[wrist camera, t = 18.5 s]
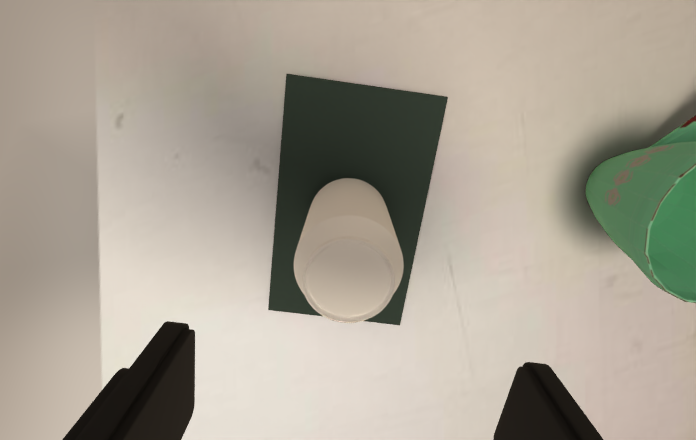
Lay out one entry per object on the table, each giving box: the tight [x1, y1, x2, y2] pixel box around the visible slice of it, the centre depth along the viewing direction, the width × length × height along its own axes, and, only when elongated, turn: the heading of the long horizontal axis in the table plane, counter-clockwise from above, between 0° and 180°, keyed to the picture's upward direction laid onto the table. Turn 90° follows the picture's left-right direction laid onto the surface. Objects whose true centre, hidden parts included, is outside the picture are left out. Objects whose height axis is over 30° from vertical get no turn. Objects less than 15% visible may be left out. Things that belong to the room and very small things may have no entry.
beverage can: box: [294, 178, 404, 323], centre depth 25 cm, size 6×6×12 cm
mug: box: [586, 116, 696, 303], centre depth 25 cm, size 15×10×10 cm
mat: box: [268, 74, 448, 325], centre depth 31 cm, size 20×12×1 cm, turn 172°
